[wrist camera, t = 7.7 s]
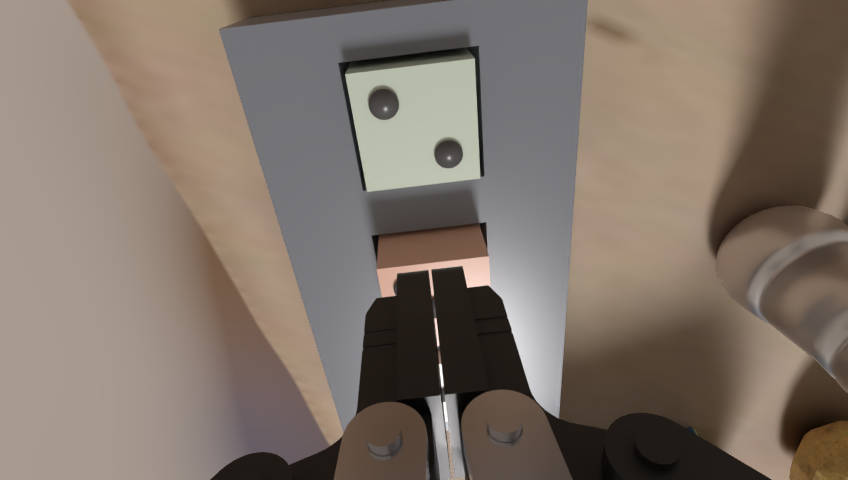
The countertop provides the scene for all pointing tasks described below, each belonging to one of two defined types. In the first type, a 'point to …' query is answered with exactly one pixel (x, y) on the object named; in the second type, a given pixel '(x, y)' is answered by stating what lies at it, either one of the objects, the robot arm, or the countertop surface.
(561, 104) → the button panel
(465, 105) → the button two dots
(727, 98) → the countertop surface
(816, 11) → the countertop surface
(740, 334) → the countertop surface
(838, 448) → the potato
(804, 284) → the plastic bottle
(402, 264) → the button three dots
